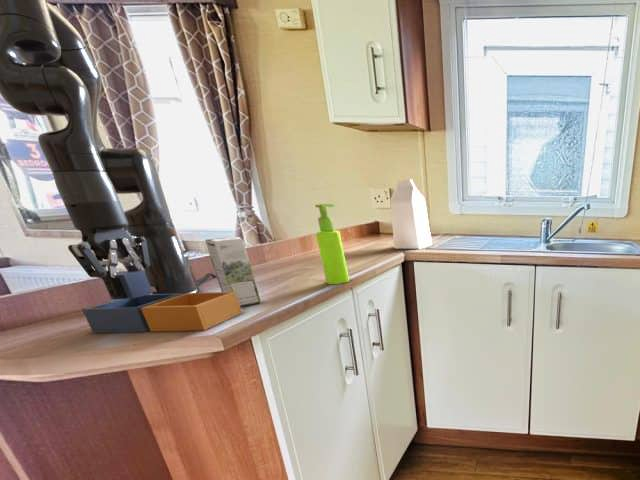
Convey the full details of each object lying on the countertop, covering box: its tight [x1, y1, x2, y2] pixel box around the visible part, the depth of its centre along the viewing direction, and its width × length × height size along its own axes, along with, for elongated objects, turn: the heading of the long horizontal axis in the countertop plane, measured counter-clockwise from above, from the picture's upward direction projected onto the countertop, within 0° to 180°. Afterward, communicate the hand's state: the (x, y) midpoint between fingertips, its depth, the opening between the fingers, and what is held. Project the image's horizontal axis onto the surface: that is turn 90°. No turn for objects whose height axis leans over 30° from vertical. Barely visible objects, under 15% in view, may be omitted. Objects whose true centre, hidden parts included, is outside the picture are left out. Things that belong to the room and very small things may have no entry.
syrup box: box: [204, 236, 262, 308], centre depth 94 cm, size 6×6×14 cm
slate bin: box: [81, 293, 183, 334], centre depth 84 cm, size 12×11×5 cm
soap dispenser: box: [314, 203, 350, 285], centre depth 113 cm, size 6×7×20 cm
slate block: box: [102, 270, 152, 300], centre depth 82 cm, size 4×4×4 cm
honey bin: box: [141, 291, 243, 332], centre depth 84 cm, size 12×11×5 cm
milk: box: [389, 179, 433, 250], centre depth 177 cm, size 12×12×26 cm
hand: (131, 294), depth 83 cm, fingers closed on slate block, 4 cm apart
